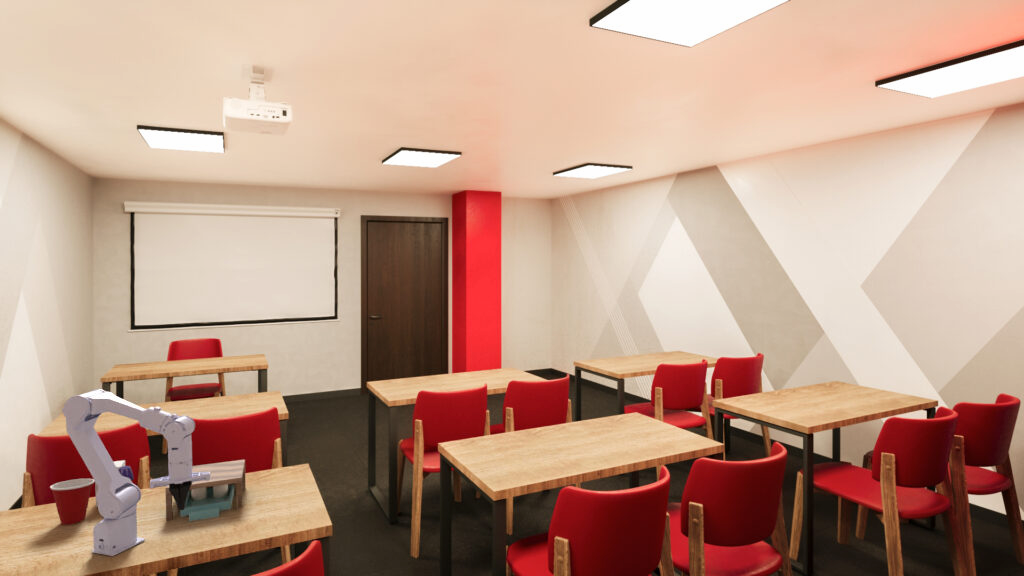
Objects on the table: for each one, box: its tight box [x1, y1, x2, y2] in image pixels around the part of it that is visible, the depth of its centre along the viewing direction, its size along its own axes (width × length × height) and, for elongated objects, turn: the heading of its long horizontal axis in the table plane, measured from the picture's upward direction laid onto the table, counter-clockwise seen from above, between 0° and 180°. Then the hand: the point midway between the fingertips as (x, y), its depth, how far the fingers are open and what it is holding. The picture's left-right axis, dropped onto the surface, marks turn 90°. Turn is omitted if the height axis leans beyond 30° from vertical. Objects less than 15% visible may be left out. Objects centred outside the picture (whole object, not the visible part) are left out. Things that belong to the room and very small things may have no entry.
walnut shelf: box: [164, 459, 247, 521], centre depth 182 cm, size 20×21×10 cm
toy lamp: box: [118, 465, 135, 482], centre depth 169 cm, size 5×5×17 cm
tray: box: [179, 484, 235, 522], centre depth 180 cm, size 21×14×6 cm, turn 23°
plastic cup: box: [49, 478, 95, 526], centre depth 170 cm, size 11×11×12 cm
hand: (181, 509), depth 155 cm, fingers closed
